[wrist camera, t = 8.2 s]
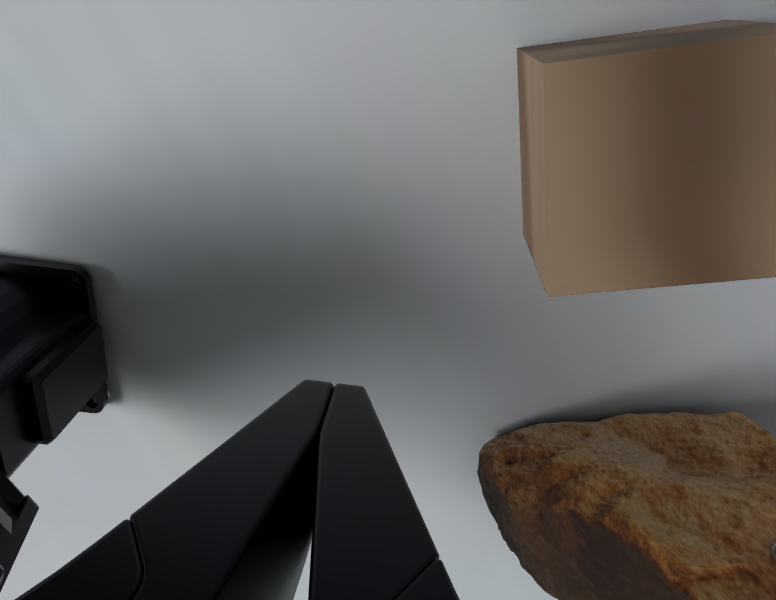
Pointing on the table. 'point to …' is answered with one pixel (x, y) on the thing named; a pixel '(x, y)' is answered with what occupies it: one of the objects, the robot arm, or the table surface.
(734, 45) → the walnut block
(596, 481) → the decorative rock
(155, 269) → the table surface
